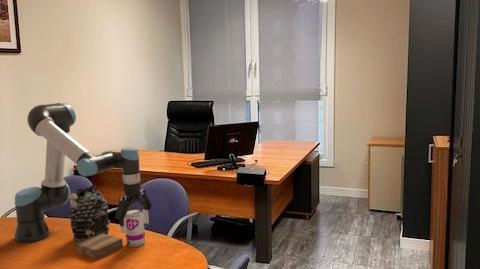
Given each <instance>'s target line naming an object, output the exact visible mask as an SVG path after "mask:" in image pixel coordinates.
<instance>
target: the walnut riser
mask: <svg viewBox="0 0 480 269" xmlns="http://www.w3.org/2000/svg"><path fill="white" fill-rule="evenodd" d="M123 243H124V242H123V238H120V237H118V236H113V235H109V234H102V233H101V234H98V235H96V236H94V237H91V238H89V239H86V240H84V241H81V242H79V243H76V242H75V252H76V253H77V254H80V255H83V256H87V257H89V258H93V259H95V260H99V259H101V258H104V257H106V256H108V255H110V254H112V253H114V252H116V251H118V250H120V249H122V248H124V244H123Z"/></svg>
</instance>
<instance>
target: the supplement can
mask: <svg viewBox="0 0 480 269" xmlns="http://www.w3.org/2000/svg"><path fill="white" fill-rule="evenodd" d="M124 219H126V230H127V233H125V237H126V245H128V246H129V247H134V248H135V247H141V246H142V245H144V243H146V232H145V231H146V230H145V223H144V215H143V210H141V209H130V210H128V211H127V213H126V215H125V217H124Z"/></svg>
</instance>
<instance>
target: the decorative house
mask: <svg viewBox="0 0 480 269" xmlns="http://www.w3.org/2000/svg"><path fill="white" fill-rule="evenodd" d="M96 187H97V186H96V185H95V184H92V185H91V186H90V187H87V188H84V189H83V188H82V189H81V188H79V189H77V190H76V193H75V192H71V195H70V196H69V204H70V206H69V211H68V215H69V216H68V218H69V221H70V227H71V230H72V234H73V242H74V243H75V244H76V243H79V242H81V241H84V240H86V239H89V238H91V237H94V236H96V235H98V234H101V233H102V234H106V235H108V233H109V231H110V227H109V225H110V224H111V220H109V218H108V216H109V215H108V212H109V211H108V210H109V206H108V201H107V199H106V198H105V196H104V195H103V194H102V193H101V192H100V191H99V190H97V189H96Z"/></svg>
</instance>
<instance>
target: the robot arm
mask: <svg viewBox="0 0 480 269" xmlns="http://www.w3.org/2000/svg"><path fill="white" fill-rule="evenodd" d="M26 119H27V124H28V127H29V128H30V130H31V131H32V133H34V134H35V135H36V136H39V137H42V138H44V139H45V140H46V148H45V150H46V152H45V166H44V167H45V169H44V170H45V171H44V179H43V180H41V181H40V182H41V183H40V184H41V186H40V187H39V186H30V187H26V188H24V189H21V190H19V191H18V192H16V194H15V196H14V205H15V213H16V214H15V215H16V227H15V228H16V229H15V233H14V241H15V242H16V243H21V244H22V243H24V244H25V243H33V242H38V241H41V240H44V239H46V238H47V237H49V235H50V228H49V226H48V224H47V223H46V220H45V214H44V213H45V212H47V211H50V210H53V209H56V208H60V207H62V206H64V205H66V204H67V203H68V202H70V199H69V196H70V195H71V194H72V192H71V189H70V185H69V184H68V183H67V181H66V180H65V179H64V173H65V158H66V157H67V158H68V159H70V161H71V162H73V163H74V164H75V165H76V171H78V174H79V175H80V176H82V177H90V176H94V175H97V174H101V173H103V172H107V171H109V170H112V169H116V170H117V169H118V170H119V169H120V170H121V172H122V182H123V192H124V196H123V195H122V196H121V195H120V196H119V198H118V200H119V201H118V205H117V208H116V212H115V216H114V219H117V220H118V224H119V227H120V233H121V234H126V233H127V230H126V219H125V215H126V213H127V211H129V209H130V207H131V206H132V204H135V203H138V204H140V206H141V207H142V208H143V209H142V213H143V215H144V224H146V225H149V224H150V221H149V216H150V210H151V207H153V204H152V202H151V200H150V198H149V196H148V194H147V191H146V189H144V188H142V183H141V171H140V155H139V149H138V148H136V147H123V148H122V149H120V151H112V150H107V151H103V152H102V153H100V154H97V155H94V154H93V153H91V152H90V151H89V150H87V149H86V148H85V147H84V146H83V145H82V144H80V143H79V142H78V141H77V140H75V139H74V138H73V137H72V136H71V135H70V134H69V133H70V132H71V130H70V129H71V127H72V126H73V125H74V124H76V121H77V114H76V111H75V110H74V108H73V107H72V106H71V105H70V104H69V103H64V102H56V103H50V104H49V103H46V104H39V105H36V106H34V107H33V108H31V109H30V111H29V112H28V114H27V118H26Z"/></svg>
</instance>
